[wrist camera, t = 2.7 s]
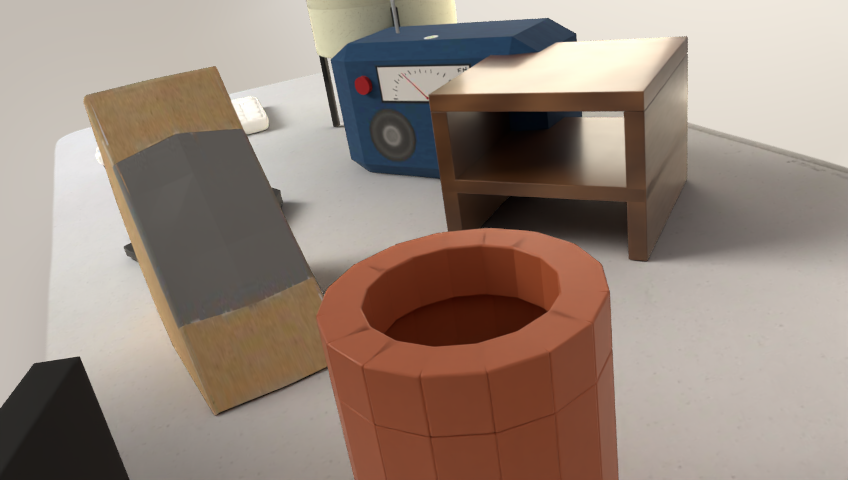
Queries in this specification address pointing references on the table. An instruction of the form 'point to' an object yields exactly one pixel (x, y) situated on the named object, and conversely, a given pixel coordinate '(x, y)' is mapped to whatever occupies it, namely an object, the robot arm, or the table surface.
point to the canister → (474, 360)
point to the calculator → (247, 113)
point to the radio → (424, 85)
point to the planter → (366, 25)
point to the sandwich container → (209, 236)
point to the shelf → (568, 132)
